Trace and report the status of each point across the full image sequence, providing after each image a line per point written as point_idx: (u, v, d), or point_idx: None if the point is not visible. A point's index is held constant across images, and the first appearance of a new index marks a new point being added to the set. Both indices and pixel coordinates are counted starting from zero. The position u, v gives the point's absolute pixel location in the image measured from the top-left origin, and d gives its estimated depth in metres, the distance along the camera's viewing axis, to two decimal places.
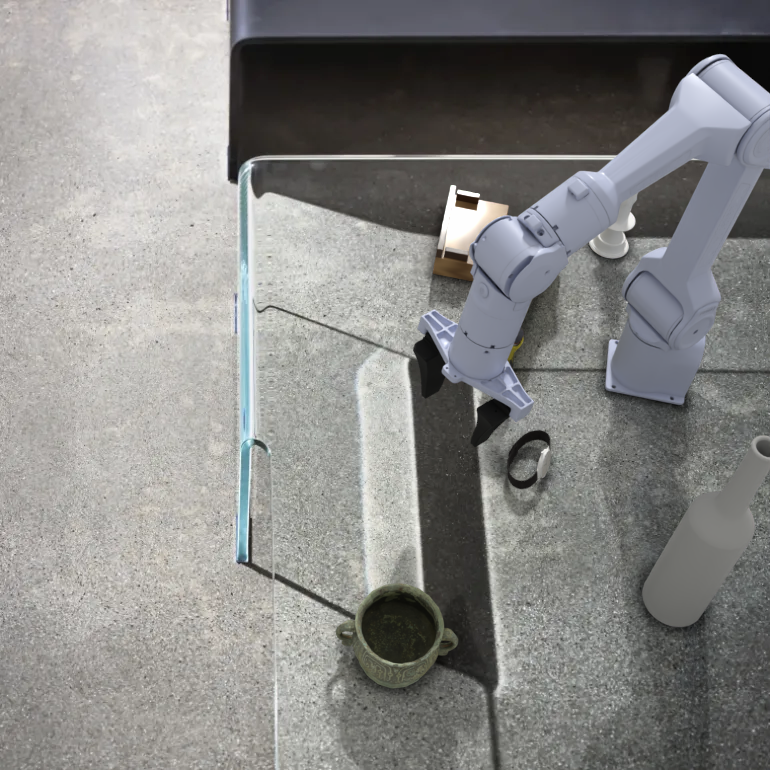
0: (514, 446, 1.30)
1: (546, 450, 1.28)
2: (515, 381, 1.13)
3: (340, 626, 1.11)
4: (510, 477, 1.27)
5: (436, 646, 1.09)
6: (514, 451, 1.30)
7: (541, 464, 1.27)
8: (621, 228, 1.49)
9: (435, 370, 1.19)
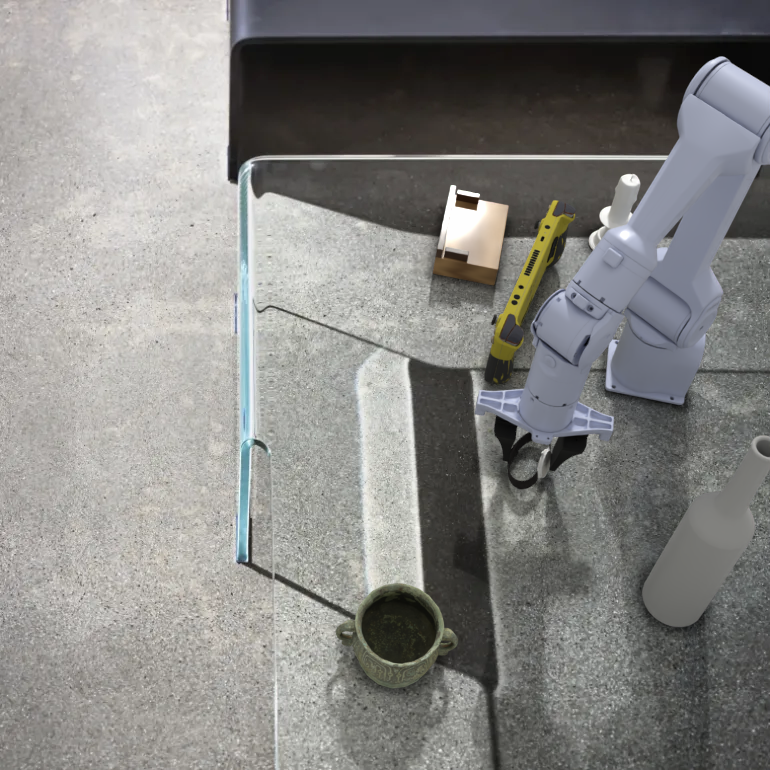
0: (514, 446, 1.30)
1: (546, 450, 1.28)
2: (585, 409, 1.23)
3: (340, 626, 1.11)
4: (510, 477, 1.27)
5: (436, 646, 1.09)
6: (514, 451, 1.30)
7: (541, 464, 1.27)
8: None
9: None
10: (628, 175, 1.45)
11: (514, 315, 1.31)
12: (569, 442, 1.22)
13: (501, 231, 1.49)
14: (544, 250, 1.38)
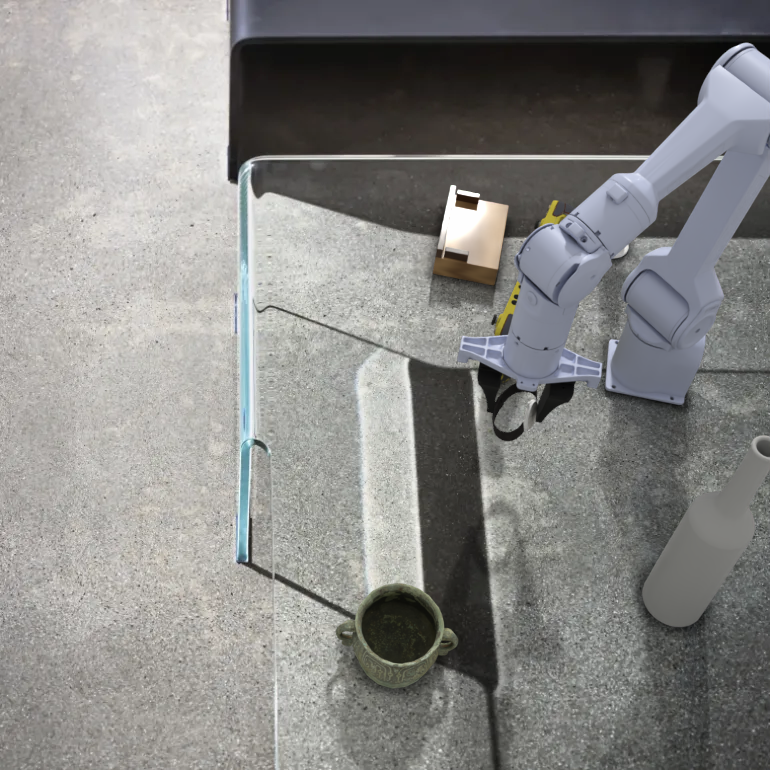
0: (499, 397, 1.25)
1: (533, 401, 1.23)
2: (572, 355, 1.18)
3: (340, 626, 1.11)
4: (495, 429, 1.23)
5: (436, 646, 1.09)
6: (499, 403, 1.25)
7: (527, 415, 1.22)
8: None
9: None
10: None
11: None
12: (555, 390, 1.18)
13: (501, 231, 1.49)
14: None
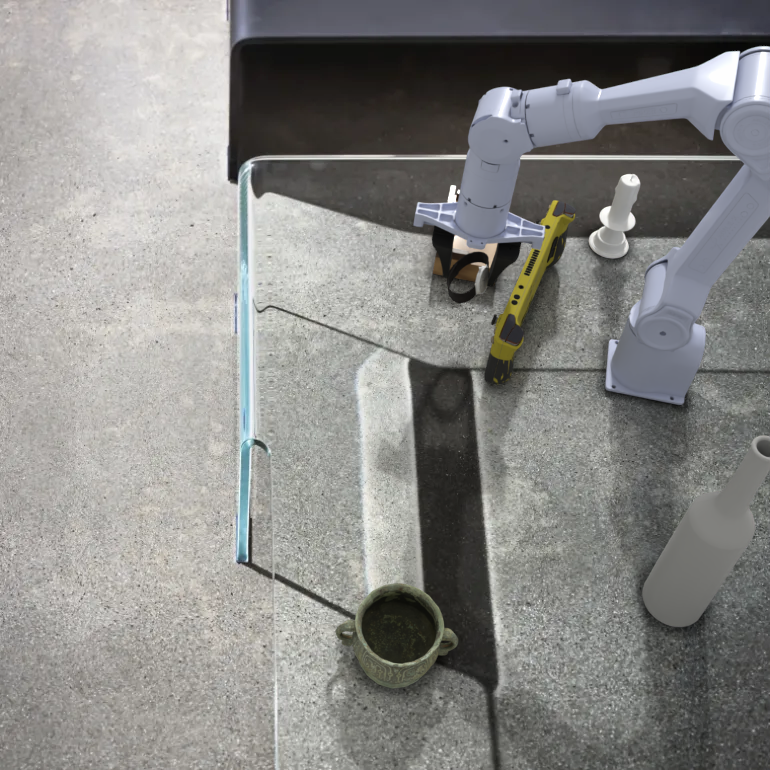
0: (454, 265, 1.37)
1: (484, 266, 1.35)
2: (518, 219, 1.30)
3: (340, 626, 1.11)
4: (450, 291, 1.34)
5: (436, 646, 1.09)
6: (454, 270, 1.37)
7: (479, 279, 1.34)
8: (621, 228, 1.49)
9: None
10: (628, 175, 1.45)
11: (514, 315, 1.31)
12: (503, 250, 1.29)
13: None
14: (544, 250, 1.38)
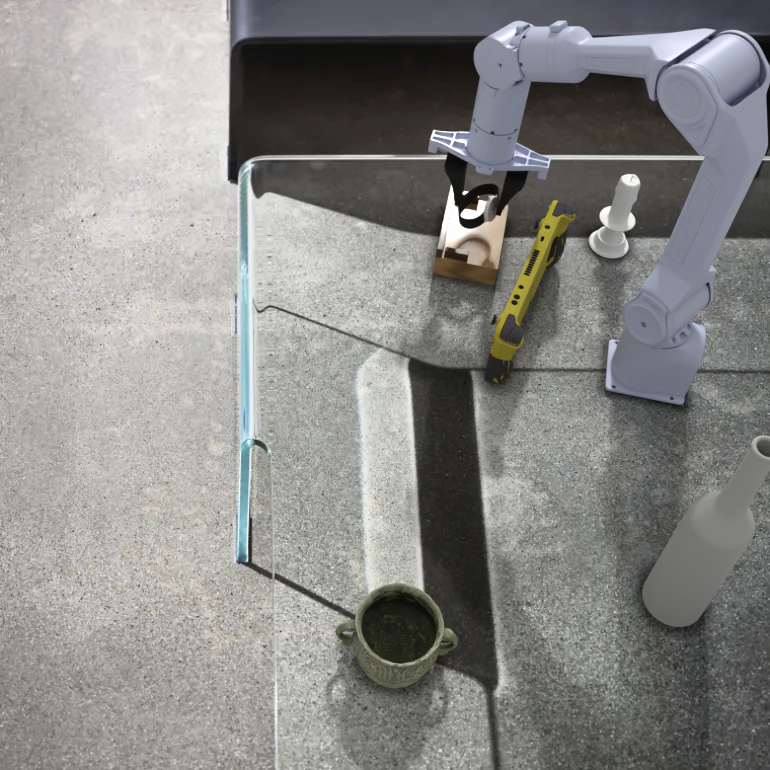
0: (466, 195, 1.46)
1: (493, 196, 1.44)
2: (526, 151, 1.39)
3: (340, 626, 1.11)
4: (460, 217, 1.43)
5: (436, 646, 1.09)
6: (466, 199, 1.46)
7: (488, 207, 1.43)
8: (621, 228, 1.49)
9: (463, 179, 1.42)
10: (628, 175, 1.45)
11: (514, 315, 1.31)
12: (510, 178, 1.38)
13: (501, 231, 1.49)
14: (544, 250, 1.38)
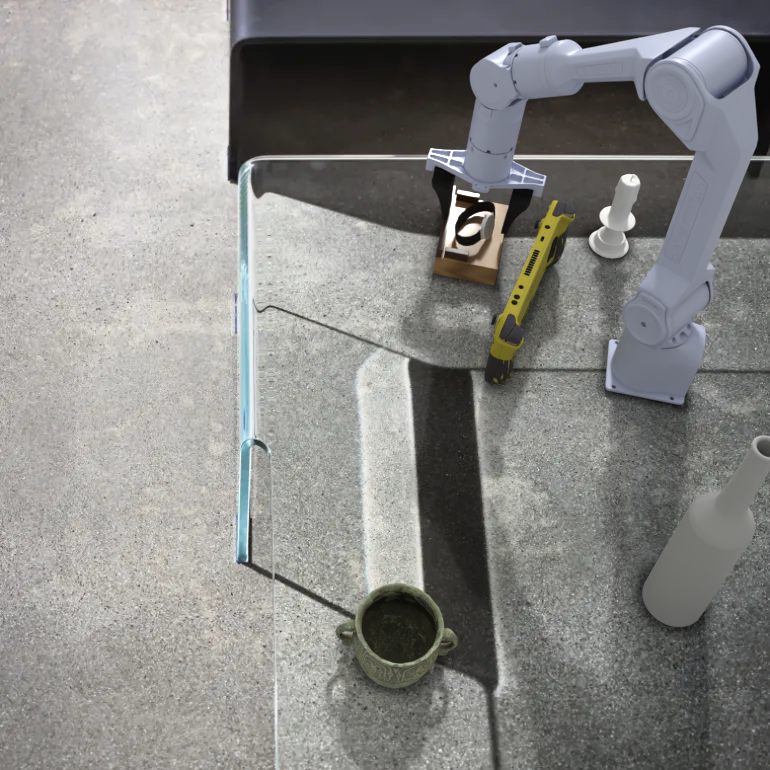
0: (463, 212, 1.48)
1: (490, 214, 1.46)
2: (522, 169, 1.41)
3: (340, 626, 1.11)
4: (456, 235, 1.46)
5: (436, 646, 1.09)
6: (463, 217, 1.48)
7: (484, 224, 1.45)
8: (621, 228, 1.49)
9: (450, 194, 1.44)
10: (628, 175, 1.45)
11: (514, 315, 1.31)
12: (515, 198, 1.40)
13: None
14: (544, 250, 1.38)
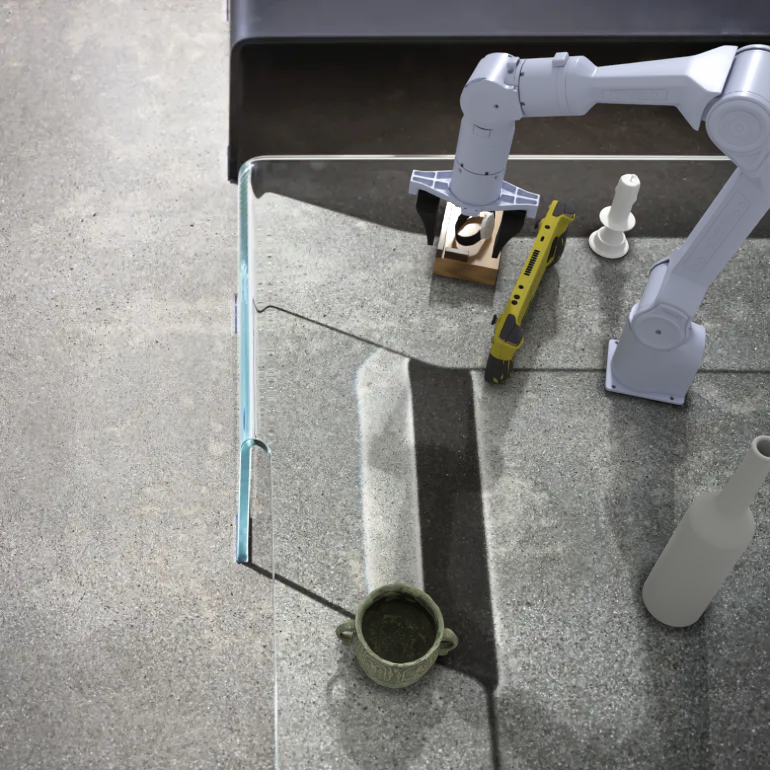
0: None
1: (490, 214, 1.46)
2: (513, 188, 1.30)
3: (340, 626, 1.11)
4: (456, 235, 1.46)
5: (436, 646, 1.09)
6: (463, 217, 1.48)
7: (484, 224, 1.45)
8: (621, 228, 1.49)
9: None
10: (628, 175, 1.45)
11: (514, 315, 1.31)
12: (507, 221, 1.29)
13: None
14: (544, 250, 1.38)
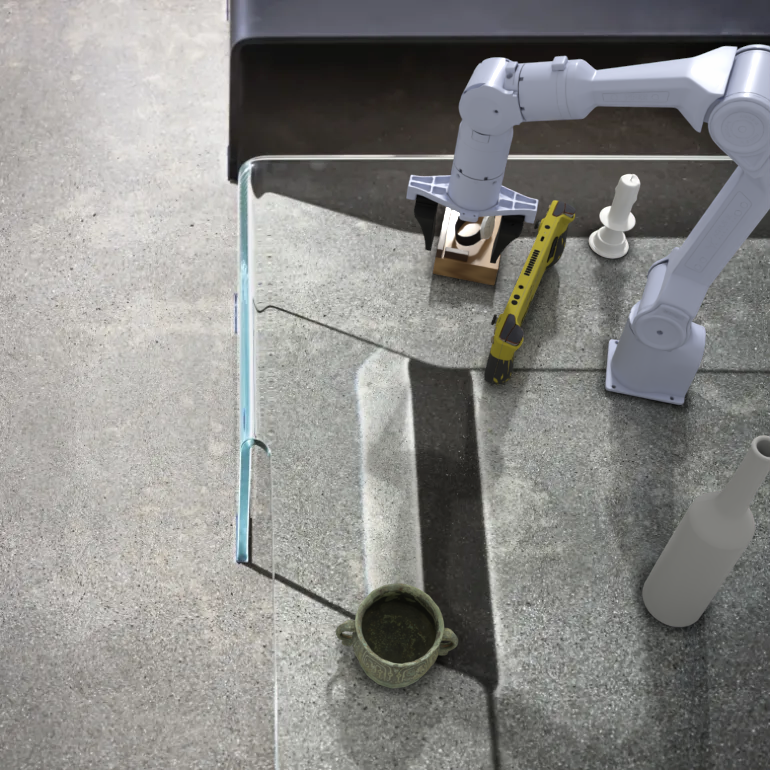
0: None
1: None
2: (511, 193, 1.29)
3: (340, 626, 1.11)
4: (456, 235, 1.46)
5: (436, 646, 1.09)
6: None
7: (484, 224, 1.45)
8: (621, 228, 1.49)
9: None
10: (628, 175, 1.45)
11: (514, 315, 1.31)
12: (506, 226, 1.29)
13: None
14: (544, 250, 1.38)
